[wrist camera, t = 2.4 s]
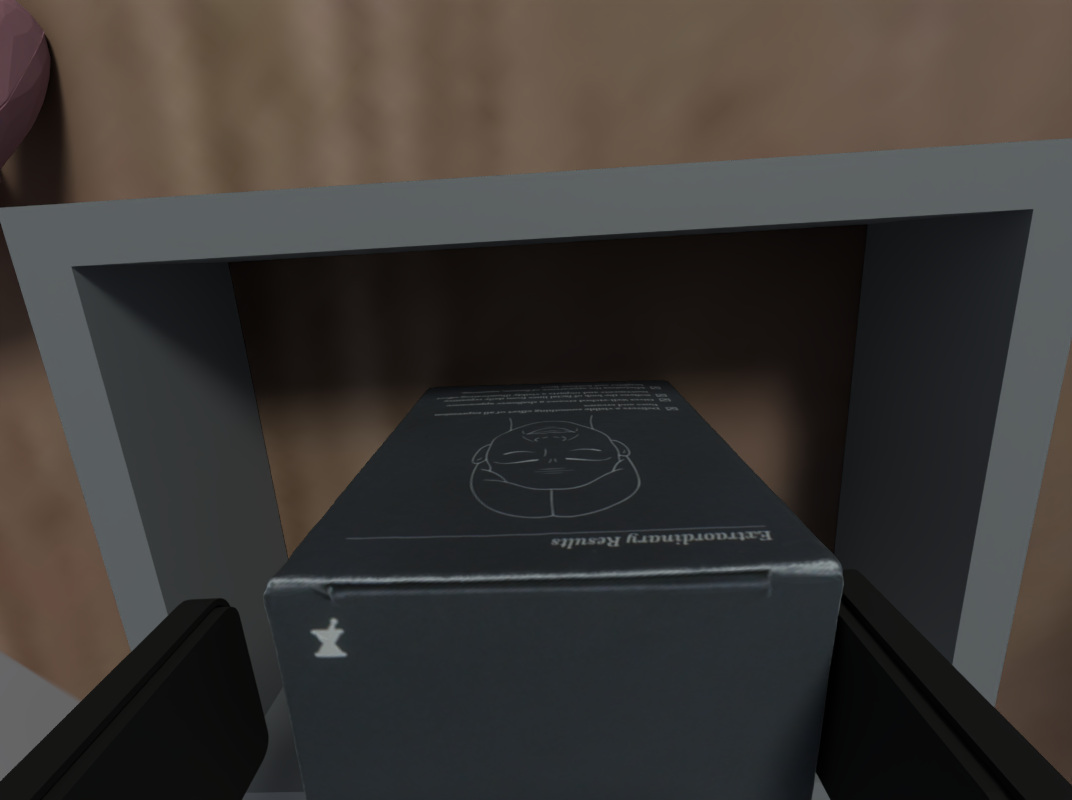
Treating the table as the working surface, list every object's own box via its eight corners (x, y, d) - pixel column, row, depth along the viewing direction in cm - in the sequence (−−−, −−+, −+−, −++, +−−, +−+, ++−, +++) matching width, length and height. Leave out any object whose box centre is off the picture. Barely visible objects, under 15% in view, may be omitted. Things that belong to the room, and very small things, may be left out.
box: (442, 541, 19) (310, 888, 8) (427, 383, 17) (246, 574, 7) (668, 536, 18) (815, 891, 8) (673, 376, 17) (862, 564, 7)
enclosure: (915, 177, 15) (1113, 135, 10) (856, 661, 19) (972, 814, 14) (180, 223, 16) (-5, 207, 11) (280, 677, 20) (184, 827, 15)
